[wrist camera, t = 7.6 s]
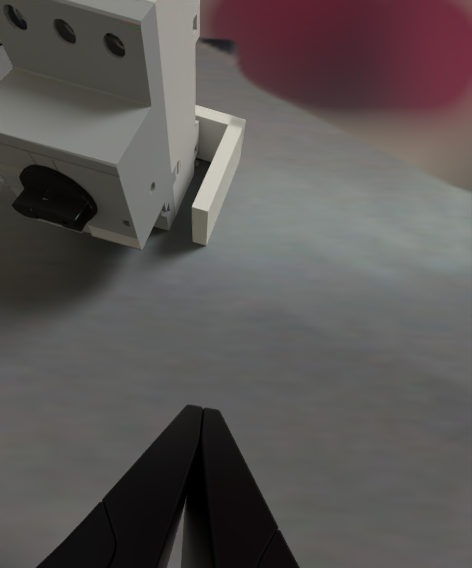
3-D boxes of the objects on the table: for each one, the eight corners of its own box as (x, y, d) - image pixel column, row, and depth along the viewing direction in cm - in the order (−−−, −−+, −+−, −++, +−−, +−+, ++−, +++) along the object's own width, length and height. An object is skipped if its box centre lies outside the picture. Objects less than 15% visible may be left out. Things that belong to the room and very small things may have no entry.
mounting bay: (206, 245, 26) (208, 211, 22) (42, 195, 27) (15, 153, 22) (239, 161, 31) (245, 119, 27) (99, 119, 31) (85, 72, 27)
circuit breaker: (45, 267, 24) (-149, 53, 10) (123, 142, 30) (64, -93, 17) (140, 295, 24) (68, 114, 10) (198, 163, 30) (200, -55, 17)
